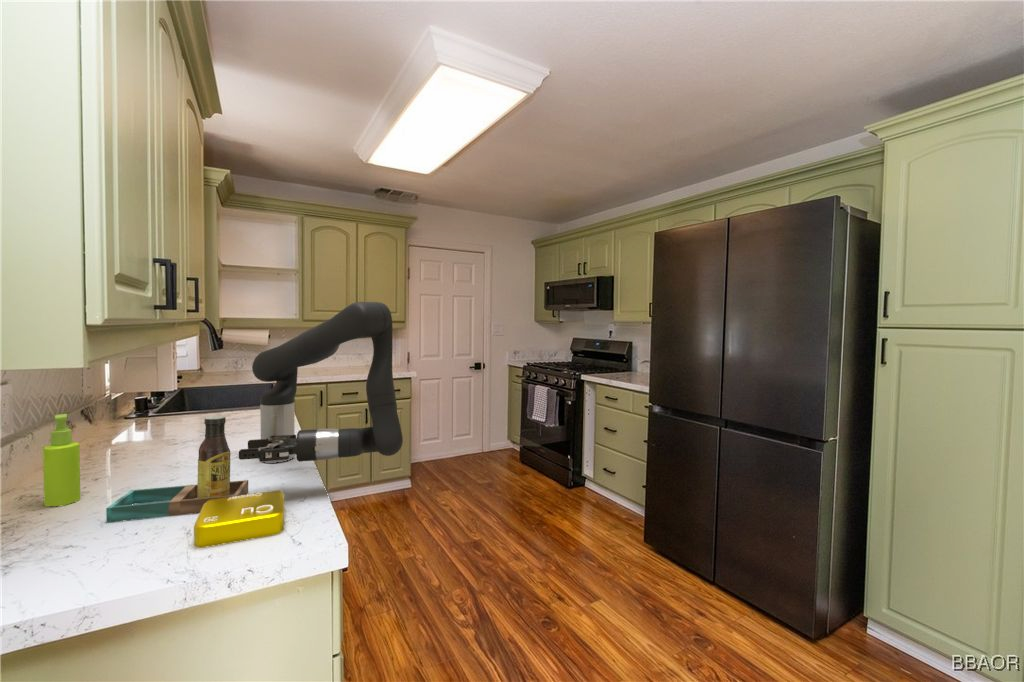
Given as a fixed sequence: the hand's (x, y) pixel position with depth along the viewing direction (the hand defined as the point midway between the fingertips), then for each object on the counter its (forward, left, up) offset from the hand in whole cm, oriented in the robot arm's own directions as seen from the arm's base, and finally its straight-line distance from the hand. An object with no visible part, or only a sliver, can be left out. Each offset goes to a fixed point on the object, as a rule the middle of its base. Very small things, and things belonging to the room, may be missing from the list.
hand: (243, 449), depth 105 cm
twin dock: (0, -12, -12) cm, 17 cm away
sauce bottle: (0, -6, -12) cm, 14 cm away
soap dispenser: (-11, -39, -12) cm, 42 cm away
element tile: (+15, +3, -13) cm, 20 cm away
